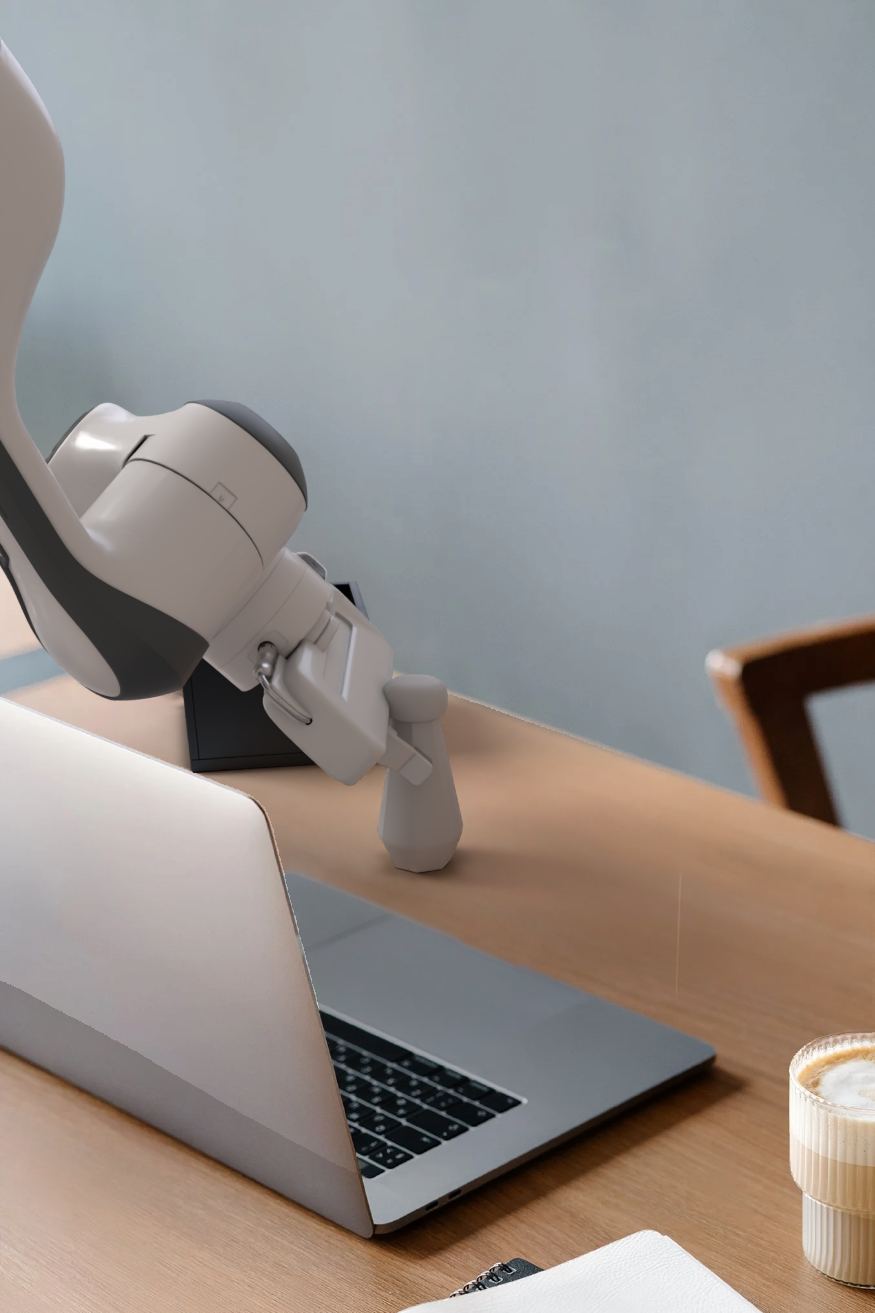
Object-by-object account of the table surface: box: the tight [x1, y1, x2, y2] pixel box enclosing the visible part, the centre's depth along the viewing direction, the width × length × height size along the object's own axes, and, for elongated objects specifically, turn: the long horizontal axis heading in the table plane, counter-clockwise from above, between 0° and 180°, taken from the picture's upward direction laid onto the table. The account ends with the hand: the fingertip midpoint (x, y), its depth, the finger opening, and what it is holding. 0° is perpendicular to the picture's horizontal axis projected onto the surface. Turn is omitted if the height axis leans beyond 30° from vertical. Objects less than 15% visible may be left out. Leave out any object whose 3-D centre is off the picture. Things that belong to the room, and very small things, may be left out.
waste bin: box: [182, 580, 370, 773], centre depth 142 cm, size 14×14×10 cm
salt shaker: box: [376, 673, 464, 874], centre depth 121 cm, size 6×6×13 cm
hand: (426, 762), depth 121 cm, fingers closed on salt shaker, 3 cm apart
